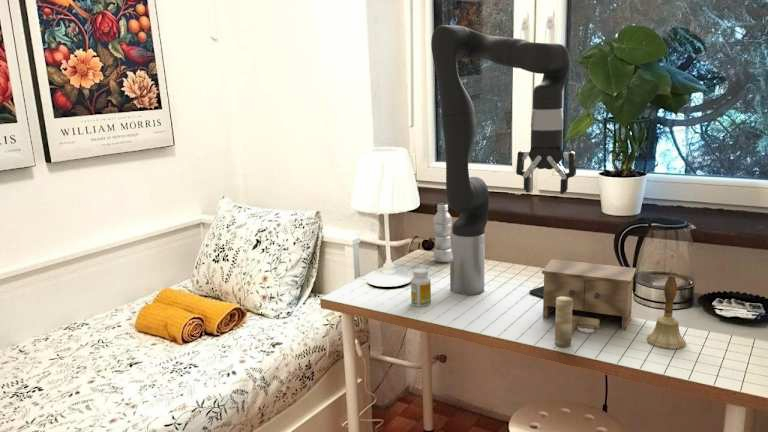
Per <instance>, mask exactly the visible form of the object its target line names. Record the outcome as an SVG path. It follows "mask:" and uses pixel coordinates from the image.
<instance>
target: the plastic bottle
mask: <svg viewBox="0 0 768 432" xmlns="http://www.w3.org/2000/svg"><path fill="white" fill-rule="evenodd" d="M436 206H437V208H436V210H437V212H436V213H435V215H434V217H433V228H434V237H435V239H434V240H435V241H434V250H433V257H434V258H433V259H434V260H435V262H438V263H450V259H452V258H453V247H452V240H451V239H452V238H451V236H452V227H453V218H452V216H451V214H450V212H449V203H445V202H444V203H438V204H437V205H436Z"/></svg>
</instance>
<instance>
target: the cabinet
mask: <svg viewBox="0 0 768 432" xmlns="http://www.w3.org/2000/svg"><path fill="white" fill-rule="evenodd" d="M636 272H637V268H636V267H628V266H621V265H608V264H599V263H591V262H582V261H581V262H580V261H572V260H564V259H563V260H562V259H554V258H553V259H551V260H549V262H547V264H546V265H545V267H544V268H543V269H541V274H542V275H543V286H544V299H543V298H542V300H543V302H542V304H543V305H542V307H543V308H542V318H543V319H548V318H549V316H550V315H551V313H552V312H553V310H554V309H556V298H557V297H570V298H572V299H573V304H572V311H573V310H574V311H580V312H587V313H594V314H595V313H596V314H602V315H603V314H604V315H608V316H609V315H610V316H617V317H622V320H621V330H622V331H627V329H628V326H629V322H630V321H631V317H632V305H633V290H634V289H633V288H634V277H635V275H636Z"/></svg>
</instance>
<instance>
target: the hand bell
mask: <svg viewBox="0 0 768 432" xmlns="http://www.w3.org/2000/svg"><path fill="white" fill-rule="evenodd" d="M663 287H664V289H663V290H664V291H663V294H664V299H665V307H664V312H663V315H662V316H659V317H658V318H657V319H656V323H655V327H654V328H653V330H652V332H651V333H650V334H648V335H647V337H646V341H647V343H649V344H651V345H652V346H655V347H657V348H662V349H668V350H677V349H683V348H685V347H686V345H687V342H686V339H685V338H683V337H682V334H681V332H680V329H679V328H680V327H679V321H678V319H676V318H675V317H673V308H674V301H675V298H676V296H677V292H678V284H677V281H676V275H673V274H669V275H668V277H667V279H666V281H665V283H664V286H663Z"/></svg>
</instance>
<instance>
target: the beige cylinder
mask: <svg viewBox="0 0 768 432" xmlns="http://www.w3.org/2000/svg"><path fill="white" fill-rule="evenodd" d="M572 304H573V299H572V298H570V297H557V298H556V307H555V326H554V328H555V329H554V333H555V334H554V345H555V346H556V347H559V348H562V349H563V348H566V349H567V348H570V347H571V346H572V336H573V334H574V332H575V331H576V330H577V325H578V324H591V325H594V326H595V327H596V330H597V329H600V318H592V317H588V316H579V315H573V310H572Z"/></svg>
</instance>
